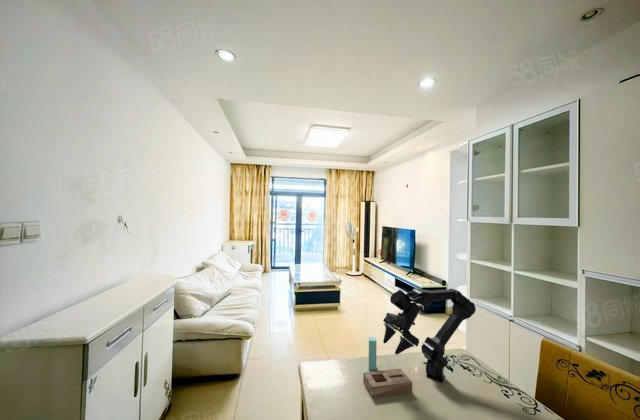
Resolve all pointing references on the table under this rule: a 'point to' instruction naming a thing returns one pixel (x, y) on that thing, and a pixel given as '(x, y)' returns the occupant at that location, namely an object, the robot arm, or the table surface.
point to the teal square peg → (372, 353)
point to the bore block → (387, 382)
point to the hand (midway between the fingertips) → (389, 348)
